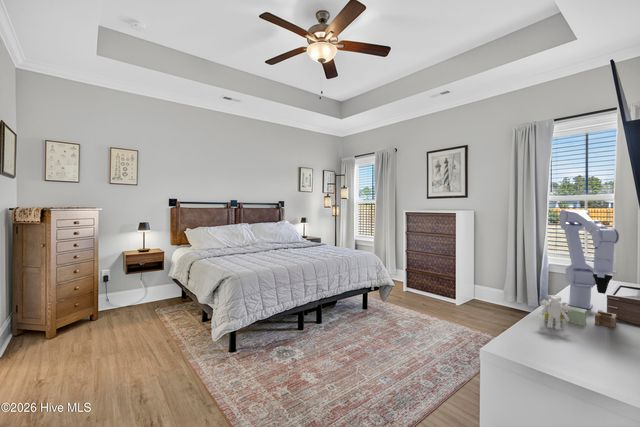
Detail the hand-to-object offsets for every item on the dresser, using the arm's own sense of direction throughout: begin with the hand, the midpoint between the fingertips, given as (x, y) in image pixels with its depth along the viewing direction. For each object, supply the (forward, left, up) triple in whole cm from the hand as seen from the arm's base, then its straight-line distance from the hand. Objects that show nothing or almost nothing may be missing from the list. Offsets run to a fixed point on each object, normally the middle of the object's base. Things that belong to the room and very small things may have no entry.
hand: (601, 292), depth 124 cm
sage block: (+14, -6, -10) cm, 18 cm away
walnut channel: (+7, -4, -10) cm, 13 cm away
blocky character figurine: (+28, -10, -10) cm, 31 cm away
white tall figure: (+21, -12, -10) cm, 26 cm away
